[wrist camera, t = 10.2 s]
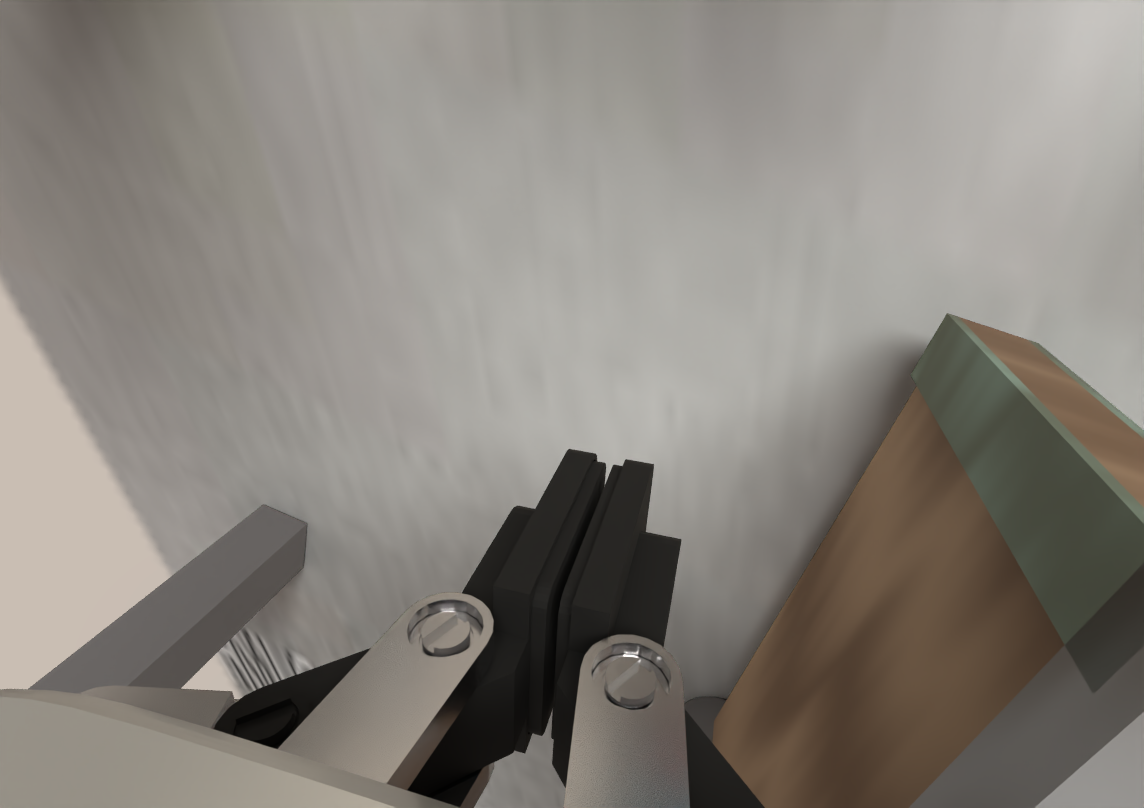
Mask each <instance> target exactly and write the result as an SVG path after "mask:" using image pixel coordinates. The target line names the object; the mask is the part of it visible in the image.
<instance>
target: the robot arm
mask: <svg viewBox="0 0 1144 808" xmlns="http://www.w3.org/2000/svg"><path fill="white" fill-rule="evenodd" d="M653 470H654V464H649V463H643V462H638V461H632V460H627V459H626V460H625V462H624V464H623V466H619V465H613V467H612V469H611V472H610V474H609V477H608V479H607V482H606V484H605V473H606V463H602V462H597V455H596V454H594V453H589V452H583V451H578V450H572V449H568V451H567V452H566V454H565V456H564V457H563V459H562V461H561V463H560V465H559V467H558V468H557V470H556V472H555V474H554V476H553V478H552V479H551V481H550V483H549V485H548V487H547V489H546V490H545V492H544V494H543V496H542V498H541V500H540V501H539V503H538V505H537V507H536V509H531V508H527V507H522V506H516V507H514V508H513V509H512V511H511V512H510V514H509V515H508V517H507V519H506V520H505V522H504V524H503V525H502V527H501V529H500V530H499V532H498V534H497V535H496V537H495V539H494V540H493V542H492V544H491V545H490V547H489V549H488V550H487V552H486V554H485V555H484V557H483V559H482V560H481V562H480V564H479V565H478V567H477V568H476V570H475V572H474V573H473V575H472V577H471V578H470V580H469V582H468V583H467V585H466V587H465V588H464V590H463V592H462V593H459V592H444V593H439V594H435V595H431V596H428V597H426V598H424V599H422V600H420V601H418V602H416V603H415V604H414V605H412V606H411V607H410V608H409V609H407V610H406V611H405V612H404V613H403V614H402V616H401V617H400V618H399V619H398V620H397V621H396V622H395V623H394V624H393V625H392V626H391V627H390V628H389V630H388V631H387V632H386V633H385V634H384V635H383V636H382V637H381V638H380V639H379V640H378V641H377V642H376V644H375V645H374V646H373V647H372V648H370V649H367V650H364V651H361V652H359V653H356V654H353V655H350V656H348V657H345V658H342V659H339V660H337V661H334V662H331V663H328V664H325V665H323V666H320V667H317V668H314V669H312V670H309V671H306V672H303V673H301V674H298V675H295V676H292V677H290V678H287V679H284V680H281V681H278V682H276V683H273V684H270V685H267V686H265V687H262V688H260V689H258V690H256V691H253V692H251V693H249V694H247V695H245V696H244V697H242V698H241V699H234V697H233V693H232V691H213V690H194V689H174V688H155V687H136V686H116V685H113V686H103V687H95V688H92V689H90V690H87V691H84V692H81V693H78V694H76V693H68V692H61V691H52V690H29V689H2V690H0V808H474V806H475V804H476V803H477V801H478V799H479V797H480V796H481V794H482V792H483V790H484V789H485V787H486V785H487V783H488V782H489V779H490V777H491V774H492V772H493V769H494V762H495V761H497V760H499V759H502V758H504V757H506V756H508V755H510V754H512V753H513V752H514V750H515V751H518V752H522V753H526V750H527V747H528V744H529V741H530V738H531V736H532V733H534V734H537V735H541V736H542V735H543V734H544V732H545V729H546V726H547V723H548V720H549V717H550V715H551V712H552V709H553V716H552V733H551V738H552V739H554V744H553V761H552V765H553V766H554V768H555V770H556V772H557V774H558V775H559V777H560V779H561V781H562V783H563V784H564V786H565V788H566V791H565V799H564V807H563V808H765V807H764V806H763V805H762V804H761V802H760V801H759V800H758V799H757V797H756V796H755V795H754V794H753V792H752V791H751V790H750V789H749V787H748V786H747V785H746V784H745V783H744V781H743V780H742V779H741V778H740V776H739V775H738V774H737V773H736V771H735V770H734V769H733V768H732V766H731V765H730V764H729V763H728V762H727V760H726V759H725V758H724V757H723V755H722V754H721V753H720V752H719V750H718V749H717V748H716V747H715V746H714V744H713V743H712V742H711V741H710V739H709V738H708V737H707V736H706V734H705V733H704V732H703V731H702V729H701V728H700V727H699V726H698V725H697V723H696V722H695V721H694V720H693V718H692V717H691V716H690V715H689V713H688V712H687V711H686V710H685V709H684V693H683V679H682V675H681V671H680V667H679V666H678V664H677V662H676V661H675V659H674V658H673V656H672V655H671V654H670V653H669V652H668V651H667V650H666V649H664V648H663V646H664V641H665V635H666V629H667V623H668V617H669V611H670V605H671V599H672V593H673V587H674V581H675V575H676V569H677V563H678V557H679V551H680V545H681V539H677V538H672V537H667V536H662V535H657V534H653V533H648V532H646V524H647V517H648V509H649V501H650V494H651V486H652V478H653ZM604 484H605V487H604Z"/></svg>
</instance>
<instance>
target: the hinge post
mask: <svg viewBox="0 0 1144 808" xmlns="http://www.w3.org/2000/svg"><path fill="white" fill-rule="evenodd" d="M725 702H726V700H724V699H721V698H715V697H700V698H695V699H692V700H690V701H688V702H686V703H685V704H684V709H685V710H686V711H687V712H688V713H689V715H690V716H691V717H692V718H693V720H694V721H695V722H696V723H697V725H698V726H699V727H700V728H701V729H702V731H703V732H704V733H705V734H706V736H707V737H708V738H709V739H710V741H711V742H712V741H713V728H714V720H715V718H716V717H717V715H718V713H719V712H720V710H721V708H722V707H723V705H724V704H725Z"/></svg>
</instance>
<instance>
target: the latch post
mask: <svg viewBox="0 0 1144 808" xmlns="http://www.w3.org/2000/svg"><path fill="white" fill-rule="evenodd" d="M306 532H307V523H305V522H302V521H300V520H298V519H295V518H293V517H291V516H289V515H286V514H284V513H282V512H279V511H277V510H275V509H272V508H270V507H268V506H266V505H262V506H261V507H260V508H258V509H257V510H256V511H254V512H253V513H252V514H251V515H249V516H248V517H247V518H246V519H244V520H243V521H242V522H240V523H239V524H238V525H237V526H235V527H234V528H233V529H231V530H230V531H229V532H228V533H226V534H225V535H224V536H223V537H221V538H220V539H219V540H217V541H216V542H215V543H214V544H212V545H211V546H210V547H209V548H207V549H206V550H205V551H203V552H202V553H201V554H200V555H198V556H197V557H196V558H195V559H193V560H192V561H191V562H189V563H188V564H187V565H186V566H184V567H183V568H182V569H180V570H179V571H178V572H177V573H175V574H174V575H173V576H172V577H170V578H169V579H168V580H166V581H165V582H164V583H163V584H161V585H160V586H159V587H158V588H156V589H155V590H154V591H152V592H151V593H150V594H149V595H147V596H146V597H145V598H144V599H142V600H141V601H140V602H138V603H137V604H136V605H135V606H133V607H132V608H131V609H129V610H128V611H127V612H126V613H124V614H123V615H122V616H121V617H119V618H118V619H117V620H115V621H114V622H113V623H112V624H110V625H109V626H108V627H107V628H105V629H104V630H103V631H101V632H100V633H99V634H98V635H96V636H95V637H94V638H93V639H91V640H90V641H89V642H87V643H86V644H85V645H84V646H82V647H81V648H80V649H79V650H77V651H76V652H75V653H74V654H72V655H71V656H70V657H68V658H67V659H66V660H65V661H63V662H62V663H61V664H59V665H58V666H57V667H56V668H54V669H53V670H52V671H51V672H49V673H48V674H47V675H45V676H44V677H43V678H42V679H40V680H39V681H38V682H36V683H35V684H34V685H33V686H31V687H30V688H29V690H52V691H61V692H68V693H76V694H78V693H81V692H84V691H87V690H90V689H92V688H95V687H103V686H113V685H116V686H136V687H155V688H174V689H181V687H182V686H184V685H185V684H186V683H187V682H188V680H190V679H191V678H192V677H193V676H194V675H195V673H197V672H198V671H199V670H200V669H201V668H202V667H203V666H204V665H205V664H206V663H207V662H208V661H209V660H210V659H211V658H212V657H213V656H214V655H215V654H216V653H217V652H218V651H219V650H220V649H221V648H222V647H223V646H224V645H225V644H226V643H227V642H228V641H229V640H230V639H231V638H232V637H233V636H234V635H235V634H236V633H237V632H238V631H239V630H240V629H241V628H242V627H243V626H244V625H245V624H246V623H247V622H248V621H249V620H250V619H251V618H252V617H253V616H254V615H255V614H256V613H257V612H258V611H259V610H260V609H261V608H262V607H263V606H264V605H265V604H266V603H267V602H268V601H269V600H270V599H271V598H273V597H274V596H275V595H276V594H277V593H278V592H279V591H280V590H281V589H282V588H283V587H284V586H285V585H286V584H287V583H288V582H289V581H290V580H291V579H292V578H293V577H294V576H295V575H296V574H297V573H298V572H299V571H300V570H301V569H302V568H303V567H304V555H305V543H306Z"/></svg>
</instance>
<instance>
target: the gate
mask: <svg viewBox="0 0 1144 808" xmlns="http://www.w3.org/2000/svg"><path fill="white" fill-rule="evenodd" d="M911 377H912V379H913V380H914V382H915V384H916V388H915V390H914V391H913V393H912V395H911V396H910V398H909V399H908V401H907V403H906V404H905V406H904V408H903V409H902V411H901V413H900V414H899V416H898V418H897V419H896V421H895V423H894V424H893V426H892V428H891V429H890V431H889V433H888V434H887V436H886V437H885V439H884V441H883V442H882V444H881V446H880V447H879V449H878V451H877V452H876V454H875V456H874V457H873V459H872V461H871V462H870V464H869V466H868V467H867V469H866V471H865V472H864V474H863V475H862V477H861V479H860V480H859V482H858V484H857V485H856V487H855V489H854V490H853V492H852V494H851V495H850V497H849V499H848V500H847V502H846V504H845V505H844V507H843V509H842V510H841V512H840V513H839V515H838V517H837V518H836V520H835V522H834V523H833V525H832V527H831V528H830V530H829V532H828V533H827V535H826V537H825V538H824V540H823V542H822V543H821V545H820V547H819V548H818V550H817V551H816V553H815V555H814V556H813V558H812V560H811V561H810V563H809V565H808V566H807V568H806V570H805V571H804V573H803V575H802V576H801V578H800V580H799V581H798V583H797V585H796V586H795V588H794V589H793V591H792V593H791V594H790V596H789V598H788V599H787V601H786V603H785V604H784V606H783V608H782V609H781V611H780V613H779V614H778V616H777V618H776V619H775V621H774V623H773V624H772V626H771V627H770V629H769V631H768V632H767V634H766V636H765V637H764V639H763V641H762V642H761V644H760V646H759V647H758V649H757V651H756V652H755V654H754V656H753V657H752V659H751V661H750V662H749V664H748V666H747V667H746V669H745V670H744V672H743V674H742V675H741V677H740V679H739V680H738V682H737V684H736V685H735V687H734V689H733V690H732V692H731V694H730V695H729V697H728V699H727V700H726V702H725V704H724V705H723V707H722V708H721V710H720V712H719V713H718V715H717V717H716V718H715V720H714V728H713V741H712V743H713V744H714V746H715V747H716V748H717V749H718V750H719V752H720V753H721V754H722V755H723V757H724V758H725V759H726V760H727V762H728V763H729V764H730V765H731V766H732V768H733V769H734V770H735V771H736V773H737V774H738V775H739V776H740V778H741V779H742V780H743V781H744V783H745V784H746V785H747V786H748V787H749V789H750V790H751V791H752V792H753V794H754V795H755V796H756V797H757V799H758V800H759V801H760V802H761V804H762V805H763V806H764V807H765V808H1144V430H1143V429H1141V428H1140V427H1139V426H1138V425H1136V424H1135V423H1134V422H1133V421H1132V420H1130V419H1129V418H1128V417H1127V416H1126V415H1124V414H1123V413H1122V412H1121V411H1120V410H1118V409H1117V408H1116V407H1115V406H1114V405H1112V404H1111V403H1110V402H1109V401H1107V400H1106V399H1105V398H1104V397H1103V396H1101V395H1100V394H1099V393H1098V392H1097V391H1095V390H1094V389H1093V388H1092V387H1091V386H1089V385H1088V384H1087V383H1086V382H1084V381H1083V380H1082V379H1081V378H1080V377H1078V376H1077V375H1076V374H1075V373H1074V372H1072V371H1071V370H1070V369H1069V368H1068V367H1066V366H1065V365H1064V364H1063V363H1062V362H1060V361H1059V360H1058V359H1057V358H1055V357H1054V356H1053V355H1052V354H1051V353H1049V352H1048V351H1047V350H1046V349H1045V348H1043V347H1042V346H1041V345H1040V344H1039V343H1036V342H1033V341H1030V340H1027V339H1024V338H1021V337H1018V336H1015V335H1011V334H1008V333H1005V332H1002V331H999V330H996V329H993V328H990V327H987V326H984V325H981V324H978V323H975V322H972V321H969V320H966V319H963V318H960V317H957V316H954V315H951V314H948V313H947V314H946V316H945V318H944V320H943V321H942V323H941V325H940V326H939V328H938V330H937V331H936V333H935V335H934V336H933V338H932V340H931V341H930V343H929V345H928V346H927V348H926V350H925V352H924V353H923V355H922V357H921V358H920V360H919V362H918V363H917V365H916V367H915V368H914V370H913V372H912V373H911Z"/></svg>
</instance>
